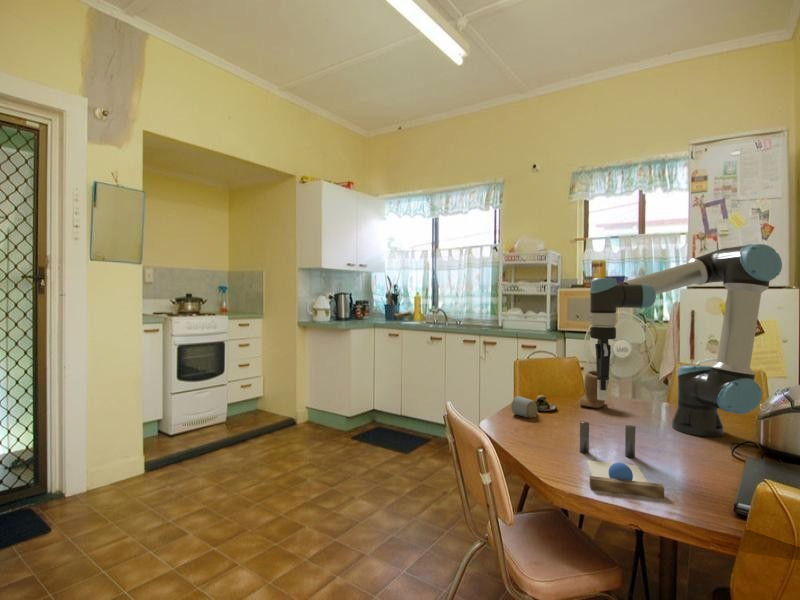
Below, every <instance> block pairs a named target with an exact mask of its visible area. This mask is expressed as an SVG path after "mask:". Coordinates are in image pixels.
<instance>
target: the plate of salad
mask: <svg viewBox="0 0 800 600" xmlns="http://www.w3.org/2000/svg"><path fill="white" fill-rule="evenodd" d="M538 393H539V395H537V397H536V398H535V401H534V402H535V403H536V405H537V411H538V412H539V411H540V412H551V411H554V410H556V411H557V410H558V406H557V405H555V404H552V403H549V402H548V401H547V400H546V399H547V397H546V396H545V395H542V394H541V393H540V392H538Z"/></svg>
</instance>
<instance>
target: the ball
mask: <svg viewBox="0 0 800 600" xmlns="http://www.w3.org/2000/svg"><path fill="white" fill-rule="evenodd" d="M613 463H614V464H612V465H611V466H610V468H609V471H608V473H609V477H610V478H613V479H621V480H630V481H632V479H633V473H632V471H631V469H630V468H629V467H628V466H627V465H626V464H625V463H623V462H613Z"/></svg>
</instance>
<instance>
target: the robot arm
mask: <svg viewBox="0 0 800 600" xmlns="http://www.w3.org/2000/svg"><path fill="white" fill-rule="evenodd" d="M782 270H783V263H782V258H781V256H780V254H779V253H778V252H777V250H775V248H773V247H772V246H770V245H769V244H763V243H757V244H756V243H755V244H746V245H740V246H733V247H724V248H721V249H718V250H714V251H711V252H708V253H706V254H703V255H700V256H697V257H694V258H691V259H689V260H688V261H687V262H686V263H685V264H684V263H683V264H680V265H677V266H673V267H669V268H667V269H662V270H660V271H656V272H653V273H650V274H645V275H642V276H638V277H635V278H632V279H628V280H624V281H622V282H617V278H615V277H598V278H597V277H595V278H592V279H591V281H590V288H589V289H590V290H589V295H590V315H588V319H590V320H589V321H590V325H591V326H590V328H589V337H590V338H591V339H593V340H597V343H595V344H594V346H595V347H594V348H595V358H596V359H595V361H596V365H595V367H596V371H597V373H596V374H597V375H598V376H597V377H598V378H597V377H596V380H598V388H597V399H598V400H605V402H606V401H608V387H607V385H608V386H609V383H608V379H609V380H610V366H611V365H610V362H611V353H612V351H611V345H610V343H609V340H615V339H616V338H617V327H615V326H616V325H617V309H621V308H623V309H624V308H625V309H626V308H628V309H633V308H634V309H637V308H639V309H643V308H644V309H645V308H646V309H647V308H651V307H652V306H653V305H654V304H655V302H656V298H657V295H659V294H662V293H666V292H670V291H673V290H677V289H681V288H684V287H688V286H691V285H697V286H702V285H705V284H710V283H711V284H712V283H721V282H722V286H723V287H724V288H725V289H726V290H727V294H726V300H725V307H724V312H723V313H724V314H723V320H722V325H721V326H722V327H721V333H720V339H719V347H718V352H717V358H716V362H714V363H713V364H711V365H681V366H680V367H679V368H678V372H677V374H678V375H677V408H676V410H675V412H674V415H673V418H672V421H671V427H672V429H674V430H675V431H678V432H681V433H683V434H684V433H685V434H688V435H689V434H690V435H693V436H701V437H710V438H711V437H713V438H715V437H721V436H723V435H724V434H725V433H724V432H725V431H724V430H725V429H724V425H723V423H722V419H721V417H720V413H719V412H718V411H719V410H722V411H723V412H725V413H731V414H735V415H745V414H749V413H750V412H752V411H753V410H755V409H757V408H758V406H759V405H760V403H761V401H762V397H763V390H762V387H760V384H759V383H757V382H756V381H755V377H756V373H755V371H753V370H752V368H751V364H752V363H751V362H752V356H753V351H754V350H753V349H754V345H755V344H754V343H755V336H756V330H757V323H758V318H759V313H760V312H759V310H760V304H761V299H762V294H763V293H764V292H765V291H767V290H768V289H769V287H770V281H772V280H774V279H776V278H777V277H778V276H779V275H780V274H781V272H782ZM718 409H719V410H718Z"/></svg>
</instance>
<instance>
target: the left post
mask: <svg viewBox="0 0 800 600" xmlns="http://www.w3.org/2000/svg"><path fill="white" fill-rule="evenodd" d="M579 452H580V453H581V454H586V455H587V454H589V453H590V422H589V421H579Z"/></svg>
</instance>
